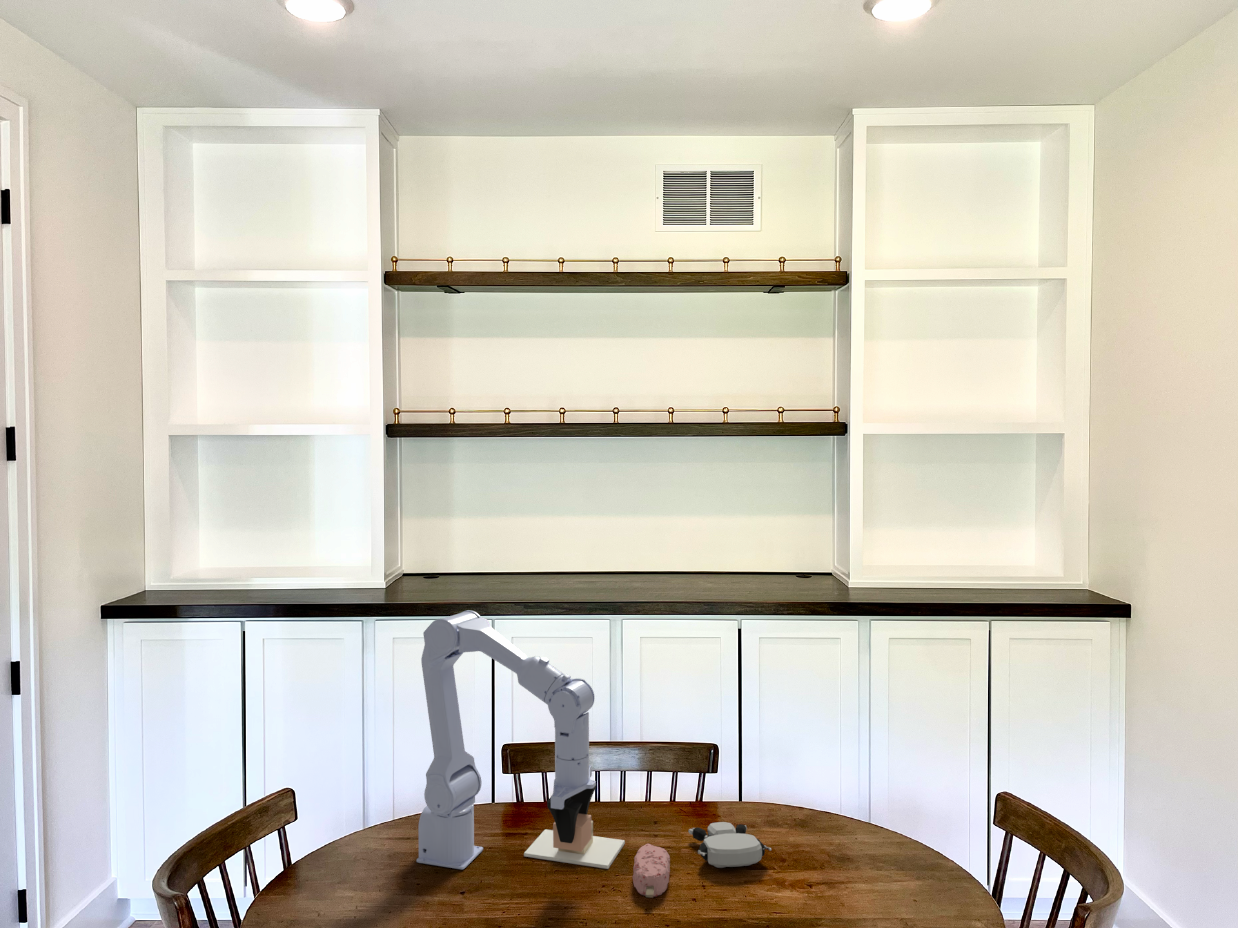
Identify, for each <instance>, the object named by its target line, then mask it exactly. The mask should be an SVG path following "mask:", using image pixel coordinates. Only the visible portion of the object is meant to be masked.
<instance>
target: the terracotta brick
mask: <svg viewBox="0 0 1238 928" xmlns="http://www.w3.org/2000/svg"><path fill="white" fill-rule="evenodd" d="M591 821H592V815H591V814H587V815H586V814H579V813H578V815H577V820H576V826H575V835H574V839H573V842H572V843H565V842H560V839H559V835H558V831H557V827H556V823H555V821H554V822H553V825H552V830H553V848H560V849H567V850H573V851H580V852H582V850H583V849H584V848H585V846H586V845H587V844H588V842H589V841H590V840H591Z"/></svg>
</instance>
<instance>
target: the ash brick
mask: <svg viewBox="0 0 1238 928" xmlns="http://www.w3.org/2000/svg"><path fill="white" fill-rule="evenodd" d="M593 836H594V820H591V840H590V841H589V842H588V844H587V845H586V846H585V848H584V849H583V850H582V852H580V851H573V850H567V849H560V848H558V851H563V852H570V853H577V854H585V853H586V851H587V850H588V848H589V847H590V846H591V844H592V843H593Z"/></svg>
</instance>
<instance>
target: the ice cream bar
mask: <svg viewBox="0 0 1238 928" xmlns="http://www.w3.org/2000/svg"><path fill="white" fill-rule="evenodd" d="M633 859H634V865H633V868H632V869H633V875H632V880H633V881H632V882H633V888H635V890H636V891H637V893H639V894H640V895H641V896H645V898H652V899H653V898H654V897H658V896H661V895H662V894H663V893H665V891H666V890H667V889H668V883H670V872H671V868H670V867H671V857H670V854H669V853H668V851H667V850H666V848H663V847H660V846H655V845H653V844H651V843H645V845H642V846H641V847H639V849H638V850H637V852H636V855H635V856H634V858H633Z"/></svg>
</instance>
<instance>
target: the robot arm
mask: <svg viewBox="0 0 1238 928" xmlns="http://www.w3.org/2000/svg"><path fill="white" fill-rule="evenodd" d="M428 625H429V626H427V627H426V629H425V630H424V631H423V633H422V634H423V641H424V646H423V649H422V650H423V651H422V655H421V669H422V676H423V684H424V691H425V697H426V698H425V699H426V706H427V713H428V721H429V727H430V728H429V729H430V736H431V743H432V748H433V749H432V751H433V752H432V753H433V759H432V762H431V763H430V765H429V767H428V769H427V771H426V773H425V779H426V785H425V788H424V793H423V795H424V801H425V807H424V808H423V810H422V811H421V814H420V816H419V821H418V858H416V863H419V864H425V865H431V866H438V867H444V868H450V869H451V868H452V869H456V870H464V869H465V868H467V867H468V866H469V865H470V863H472V862H473V860H474V859H476V858H477V857H478V856H480V855H479V854H481V853H482V852H483V851H484V847H483V846H479V845H478V846H477V845H475V819H474V816H475V813H474V812H475V811H474V809H475V803H476V796H477V795H478V794H479V793H480V791H481V788H482V777H481V774H480V772H479V771H478V769H477V766H476V762H475V757H474V756H472V755H471V753H468V752H467V751H466V749H465V744H464V743H465V742H464V735H463V728H462V721H461V719H462V718H461V713H460V706H459V699H458V698H459V697H458V691H457V690H458V689H457V684H456V677H455V676H456V675H455V669H454V666H455V664H456V662H458V660H459V659H460V657H461V656H462V655H463V654H464V653H474V652H481V653H483V655H484V654H485V655H486V656H488V657H489V658H491V659H493V660H494V661H496V662H497V663H499V664H501V665H502V666H504V667H505V668H507V669H508V670H510V671H511V672H513V673H515V674H516V676H517V682H518V685H520V686H521V687H522V688H524V689H525V690H527V691H528V692H529V693H531V694H532V695H533V696H535V697H536V698H538V699H539V700H540V701H542V702H543V703H544V704H546V705H547V708H548V712H549V713H550V715H551V717H552V719H553V722H554V724H553V725H554V726H553V727H554V777H555V779H553V791H552V795H550V797H549V798H548V800H547V801H546V806H547V809H548V810H549V812H550V813H551V816H552V817H553V820H554V822H555V823H556V827H557V831H558V835H559V839H560V842H565V843H572V842H573V839H574V835H575V826H576V820H577V815H578V813H579V814H586V815H588V812H589V807H590V803H591V800H592V798H593V794H594V792H596V791H595V790H596V789H597V783H596V782H597V781H596V780H594V779H593V780H592V779H591V778H592V776H593V775H592V774H593V773H592V771H593V766H592V765H590V724H589V723H590V718H589V717H590V713H589V712H588V711H590V709H592V707H593V706H594V703H595V693H594V692H595V691H594V690H593V688H592V686H591V685H590V684H589V683H588V682H587V680H585V679H584V678H579V677H578V678H577V677H576V678H571V675H569V674H568V673H563V672H562V671H560V670H559V669H558V668H557V667H554V666H553V665H552V664H551V663H550V659H548V658H547V657H545V656H542V657H540V656H539V655H535V656H530V657H529V656H528V655H526V654H525V653H524V652H523V651H521V649H520V648H518V647H517V646H516V645H514V644H513V643H511V641H509V640H508V639H507V638H505V637H504V636H503V635H502V634H501V633H500V632H498V631H497V630H496V629H494V628H493V627H492V626H491V624H490V622H489V620H488V619H487V618H485V617H483V616H481V615H480V614H479V613H478V612H477V611H474V610H472V609H471V610H469V609H468V610H464V611H461V612H459V613H457V614H453V615H450V616H449V615H448V616H446V617H443V618H437V619H434V620H433V621H432V622H431V623H430V624H428Z"/></svg>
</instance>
